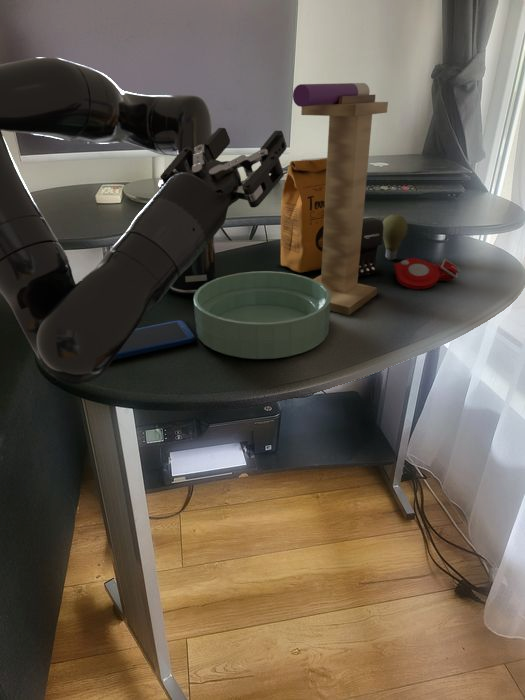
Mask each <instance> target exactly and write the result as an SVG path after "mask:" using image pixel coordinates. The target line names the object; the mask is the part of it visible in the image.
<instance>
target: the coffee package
mask: <svg viewBox="0 0 525 700" xmlns="http://www.w3.org/2000/svg"><path fill="white" fill-rule="evenodd" d="M326 172H327V157H325V158H319V159H318V158H317V159H309V160H308V159H305V160H303V159H302V160H291V161H290V162H289V164H288V168H287V172H286V178H285V181H284V183H283V188H282V191H281V192H282V193H281V200H280V201H281V202H280V203H281V205H280V266H282V267H285V268H288V269H290V270H291V271H293V272H296V273H299V274H303V273H309V272H314V271H322V254H323V233H324V213H325V192H326Z"/></svg>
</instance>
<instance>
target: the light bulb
mask: <svg viewBox="0 0 525 700" xmlns="http://www.w3.org/2000/svg"><path fill="white" fill-rule="evenodd" d="M382 222H383V226H384V230H383V242H384V248H385V258H386V259H387V260H388V261H391V262H392V261H393V260H395V259H397V256H398V250H399V248H400V246H401V243H402V242H403V240H404V238H405V236H406V235H407V232H408V229H409V226H407V225H408V222H407V220H406V219H405V218H404V217H403V216H402V215H401V214H396V213H395V214H390V215H388V216H387V217H385V218H384V219H383V221H382Z"/></svg>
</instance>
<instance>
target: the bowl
mask: <svg viewBox="0 0 525 700" xmlns="http://www.w3.org/2000/svg"><path fill="white" fill-rule="evenodd" d="M313 279H314V278H310V277H308V276H305V275H301V274H296V273H291V272H285V271H269V270H267V271H266V270H265V271H264V270H263V271H261V270H260V271H247V272H246V271H245V272H238V273H233V274H229V275H227V274H226V275H223V276H221V277H216V279H214V280H212V281H210V282H208V283H206V284H204V285H203V286H201V287H200V288H199V289H198V290H197V291H196V293H195V295H193V299H192V300H193V301H192V302H193V309H194V310H193V312H194V321H195V332H196V335H197V338H198V339H199V341H201V343H203V345H205V346H206V347H207V348H210V349H211V350H213V351H215V352H218V353H220V354H224V355H227V356H231V357H237V358H241V359H250V360H269V359H271V360H272V359H273V360H274V359H281V358H287V357H288V358H289V357H293V356H296V355H299V354H303V353H305V352H308V351H310V350H312V349H314V348H316V347H318V346H319V345H320V344H322V343H323V342H324V341H325V339H326V338H327V337H328V335H329V332H330V323H331V321H330V320H331V310H330V307H331V294H330V292H329V290H328V289H327V288H326V287H325V286H324V285H323V284H321V283H319V282H317V281H316V280H313Z"/></svg>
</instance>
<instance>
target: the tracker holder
mask: <svg viewBox="0 0 525 700" xmlns="http://www.w3.org/2000/svg"><path fill="white" fill-rule="evenodd" d="M393 266H394V275H395V278H396V280H397V282H398V283H399V284H400V285H402V286H403V287H405V288H408V289H411V290H426V289H429V288H431V287H434V286H435V285H436V284H437V282H438V281H443V282H444V281H451V280H454V279H458V276H459V274H460V272H461V271H460V270H461V268H460V267H458V266H457V265H455V264H454V263H453V262H451V261H449V260H448V259H447V258H443V259H442V262H440V263H439V264H434V263H432V262H429V261H427V260H423V259H419V258H416V257H408V258H406V259H403V260H401V261H399V262H397V263H394V264H393Z"/></svg>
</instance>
